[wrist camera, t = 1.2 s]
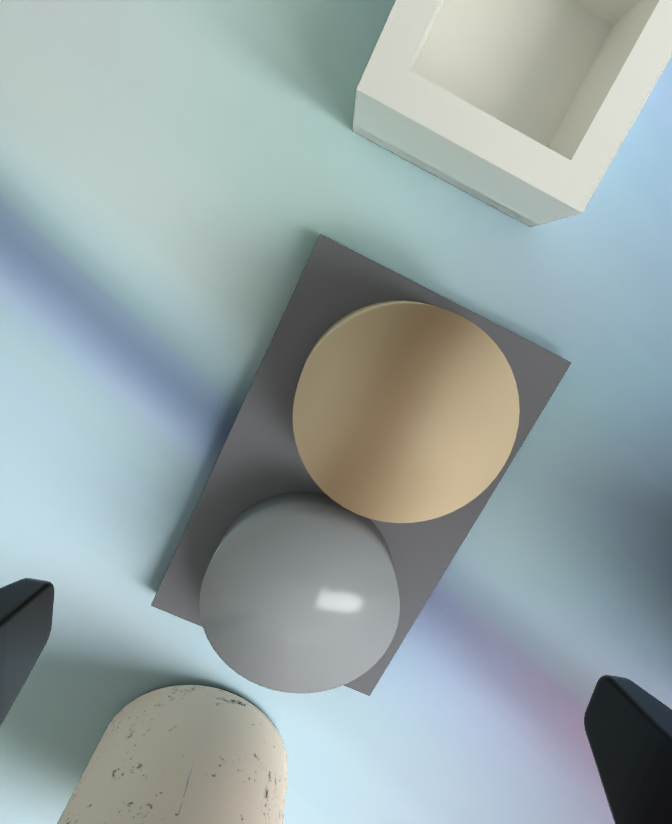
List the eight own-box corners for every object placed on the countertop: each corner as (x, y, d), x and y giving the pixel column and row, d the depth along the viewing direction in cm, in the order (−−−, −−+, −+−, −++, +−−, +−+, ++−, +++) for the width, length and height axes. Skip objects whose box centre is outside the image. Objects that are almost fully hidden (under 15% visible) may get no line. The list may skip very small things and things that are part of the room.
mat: (561, 359, 19) (571, 362, 19) (368, 681, 23) (369, 695, 22) (321, 235, 18) (320, 234, 18) (157, 593, 22) (150, 605, 21)
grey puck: (424, 536, 20) (435, 565, 18) (345, 677, 22) (347, 719, 20) (255, 461, 20) (246, 483, 18) (186, 613, 21) (170, 650, 19)
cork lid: (531, 353, 19) (562, 365, 16) (436, 520, 20) (451, 555, 18) (350, 264, 18) (353, 262, 15) (266, 445, 19) (256, 471, 17)
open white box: (644, 20, 17) (736, -58, 13) (530, 226, 18) (582, 213, 14) (453, -95, 16) (490, -215, 12) (352, 131, 18) (356, 89, 14)
